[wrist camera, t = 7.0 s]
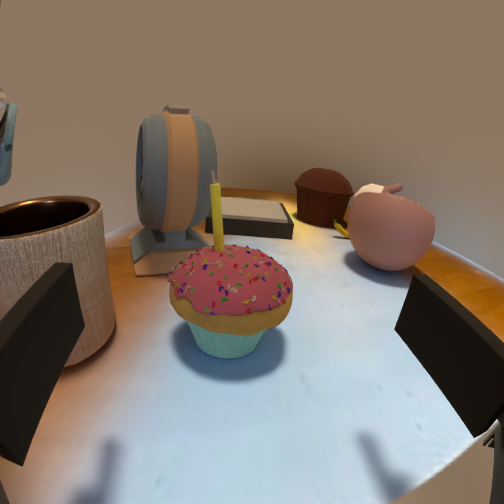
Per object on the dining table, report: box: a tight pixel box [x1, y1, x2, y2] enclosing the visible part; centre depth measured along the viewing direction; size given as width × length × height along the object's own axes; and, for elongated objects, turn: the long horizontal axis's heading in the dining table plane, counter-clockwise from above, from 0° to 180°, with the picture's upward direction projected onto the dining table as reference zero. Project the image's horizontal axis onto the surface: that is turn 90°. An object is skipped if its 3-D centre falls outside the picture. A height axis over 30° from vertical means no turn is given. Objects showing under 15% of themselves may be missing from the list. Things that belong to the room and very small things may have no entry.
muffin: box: [295, 168, 354, 227], centre depth 55 cm, size 12×11×10 cm
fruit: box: [333, 219, 350, 238], centre depth 47 cm, size 7×1×3 cm, turn 91°
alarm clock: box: [129, 105, 217, 277], centre depth 33 cm, size 14×10×18 cm
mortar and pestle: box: [348, 183, 435, 271], centre depth 36 cm, size 12×12×12 cm
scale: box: [205, 197, 294, 239], centre depth 50 cm, size 13×14×3 cm
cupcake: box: [168, 171, 293, 359], centre depth 20 cm, size 9×8×12 cm
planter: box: [0, 196, 115, 368], centre depth 17 cm, size 11×11×10 cm
